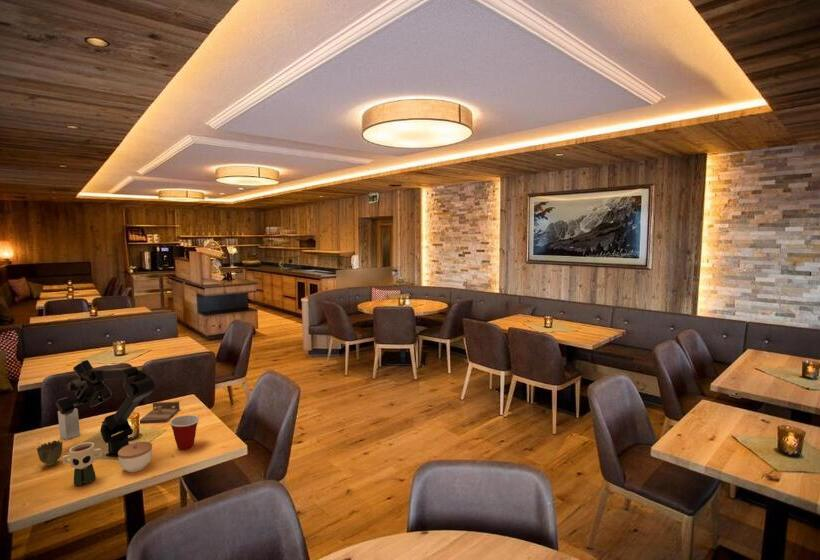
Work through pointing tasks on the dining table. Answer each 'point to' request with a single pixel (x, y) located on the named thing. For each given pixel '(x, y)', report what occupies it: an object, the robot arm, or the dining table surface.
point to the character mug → (82, 462)
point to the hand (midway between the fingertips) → (77, 410)
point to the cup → (50, 453)
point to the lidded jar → (135, 456)
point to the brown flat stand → (161, 412)
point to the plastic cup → (184, 431)
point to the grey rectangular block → (69, 425)
